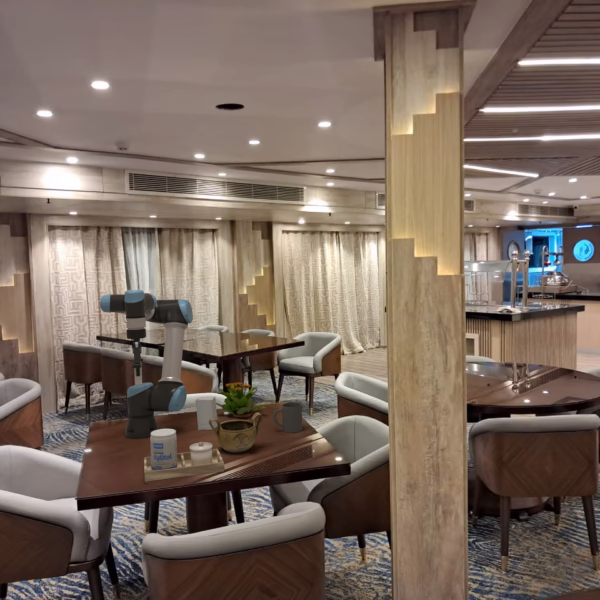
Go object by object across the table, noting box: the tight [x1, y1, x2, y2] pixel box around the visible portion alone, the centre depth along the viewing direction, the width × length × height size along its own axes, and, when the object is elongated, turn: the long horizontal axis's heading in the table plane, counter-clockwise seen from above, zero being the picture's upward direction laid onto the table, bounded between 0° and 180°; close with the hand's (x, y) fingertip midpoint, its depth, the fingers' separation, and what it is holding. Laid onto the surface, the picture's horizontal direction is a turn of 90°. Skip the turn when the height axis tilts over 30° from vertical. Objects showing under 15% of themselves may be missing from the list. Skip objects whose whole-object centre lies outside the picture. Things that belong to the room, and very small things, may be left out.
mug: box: [272, 401, 303, 434], centre depth 255 cm, size 14×9×12 cm
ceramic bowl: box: [209, 411, 264, 454], centre depth 229 cm, size 22×17×15 cm
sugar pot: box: [189, 441, 213, 466], centre depth 211 cm, size 9×9×9 cm
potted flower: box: [216, 381, 267, 419], centre depth 283 cm, size 25×24×18 cm
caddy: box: [143, 448, 225, 485], centre depth 209 cm, size 17×28×4 cm, turn 106°
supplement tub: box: [149, 428, 178, 471], centre depth 207 cm, size 10×10×15 cm
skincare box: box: [195, 396, 218, 431], centre depth 263 cm, size 8×6×15 cm
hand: (138, 380), depth 222 cm, fingers open, 13 cm apart
